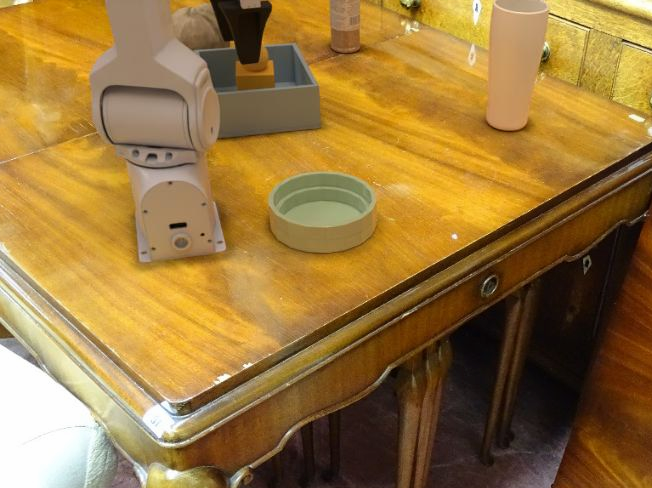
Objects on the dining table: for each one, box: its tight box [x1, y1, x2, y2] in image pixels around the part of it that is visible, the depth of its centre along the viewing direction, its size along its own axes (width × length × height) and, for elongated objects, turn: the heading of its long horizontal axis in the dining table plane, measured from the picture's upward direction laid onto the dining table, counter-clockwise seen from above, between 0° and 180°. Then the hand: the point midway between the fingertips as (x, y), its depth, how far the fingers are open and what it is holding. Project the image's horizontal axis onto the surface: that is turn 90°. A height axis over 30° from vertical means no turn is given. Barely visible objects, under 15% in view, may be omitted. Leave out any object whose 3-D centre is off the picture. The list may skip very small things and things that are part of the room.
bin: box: [194, 42, 322, 140], centre depth 97 cm, size 14×13×6 cm
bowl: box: [267, 170, 378, 254], centre depth 78 cm, size 11×11×4 cm
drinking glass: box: [485, 0, 550, 132], centre depth 95 cm, size 7×7×15 cm
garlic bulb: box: [171, 2, 231, 52], centre depth 105 cm, size 9×8×10 cm
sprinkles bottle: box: [329, 0, 362, 54], centre depth 112 cm, size 5×5×14 cm
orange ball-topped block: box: [236, 44, 275, 91], centre depth 96 cm, size 5×5×8 cm
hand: (240, 51), depth 93 cm, fingers open, 7 cm apart
